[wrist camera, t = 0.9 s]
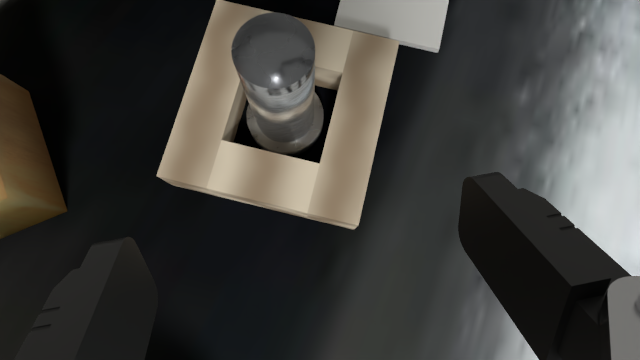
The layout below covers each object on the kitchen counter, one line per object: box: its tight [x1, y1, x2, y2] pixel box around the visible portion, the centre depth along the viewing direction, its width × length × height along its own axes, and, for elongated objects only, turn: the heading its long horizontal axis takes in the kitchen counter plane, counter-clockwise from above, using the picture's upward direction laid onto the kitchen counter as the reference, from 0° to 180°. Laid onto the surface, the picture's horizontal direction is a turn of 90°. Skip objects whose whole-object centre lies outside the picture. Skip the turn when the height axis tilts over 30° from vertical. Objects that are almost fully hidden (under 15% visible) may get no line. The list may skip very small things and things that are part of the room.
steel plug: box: [231, 12, 323, 156], centre depth 29 cm, size 7×7×12 cm
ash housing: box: [157, 0, 399, 230], centre depth 33 cm, size 16×16×4 cm
